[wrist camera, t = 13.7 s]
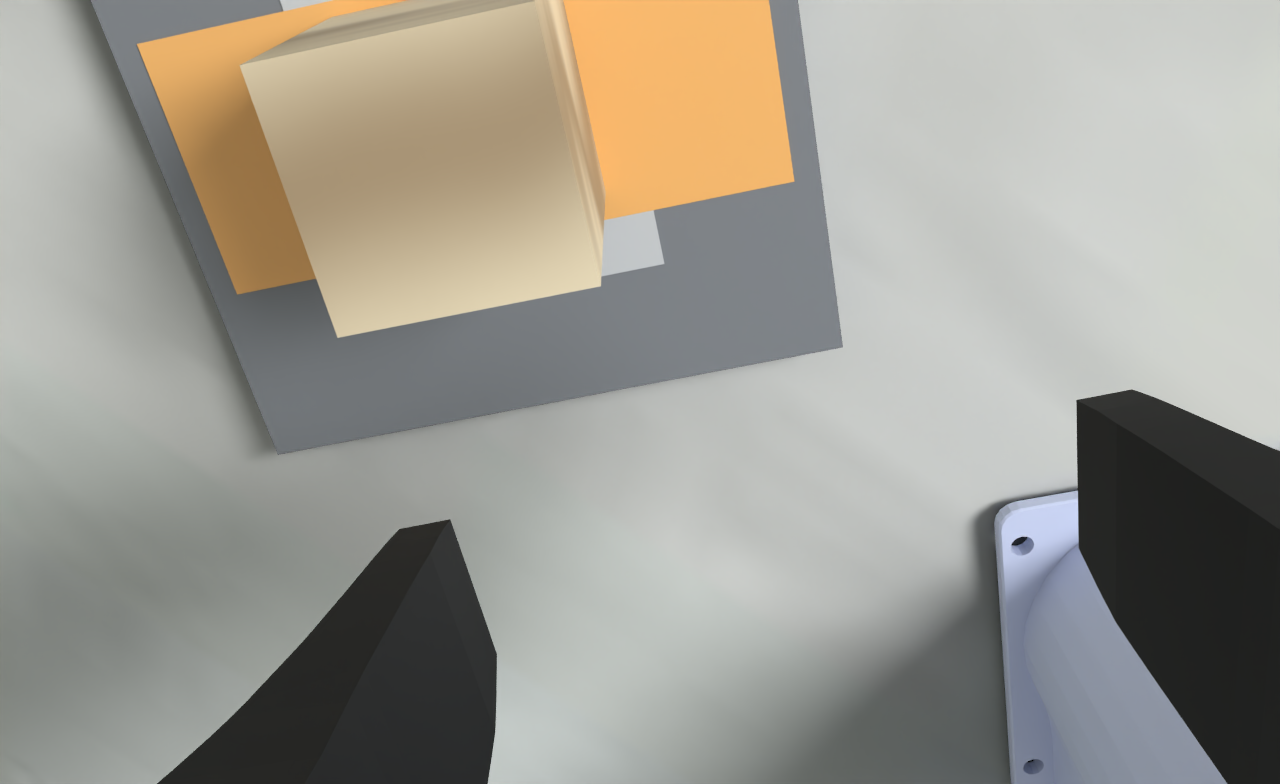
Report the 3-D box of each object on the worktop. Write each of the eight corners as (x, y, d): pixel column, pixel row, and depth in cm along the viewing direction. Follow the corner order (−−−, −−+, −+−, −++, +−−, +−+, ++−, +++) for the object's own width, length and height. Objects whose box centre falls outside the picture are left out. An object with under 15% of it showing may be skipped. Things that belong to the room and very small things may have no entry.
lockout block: (605, 191, 20) (600, 286, 15) (401, 233, 20) (337, 337, 16) (555, -33, 18) (534, 0, 14) (332, 16, 18) (239, 65, 14)
